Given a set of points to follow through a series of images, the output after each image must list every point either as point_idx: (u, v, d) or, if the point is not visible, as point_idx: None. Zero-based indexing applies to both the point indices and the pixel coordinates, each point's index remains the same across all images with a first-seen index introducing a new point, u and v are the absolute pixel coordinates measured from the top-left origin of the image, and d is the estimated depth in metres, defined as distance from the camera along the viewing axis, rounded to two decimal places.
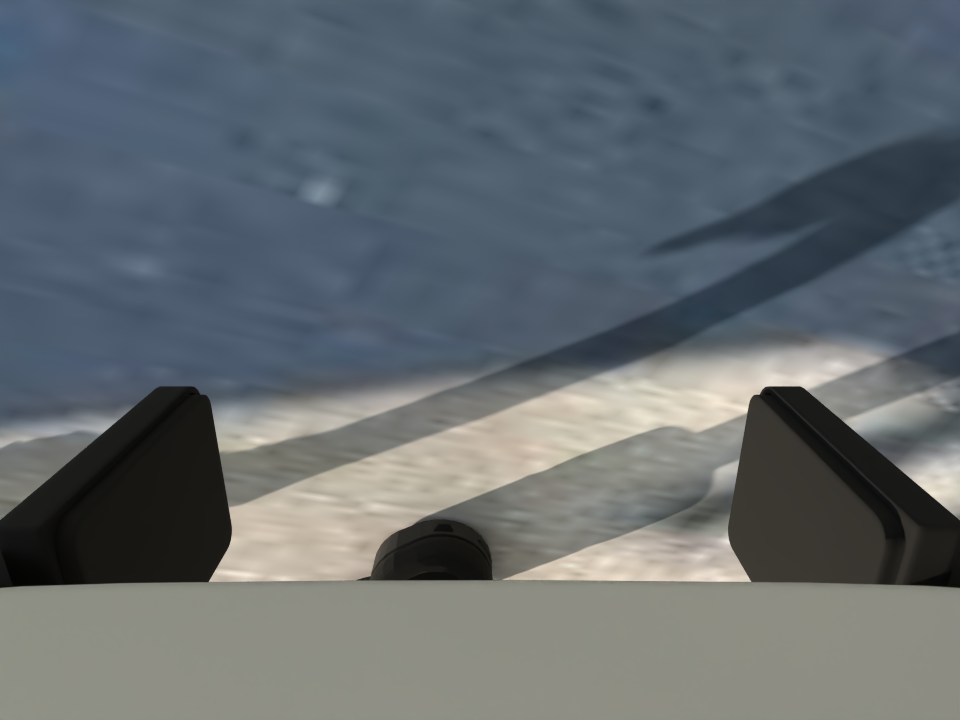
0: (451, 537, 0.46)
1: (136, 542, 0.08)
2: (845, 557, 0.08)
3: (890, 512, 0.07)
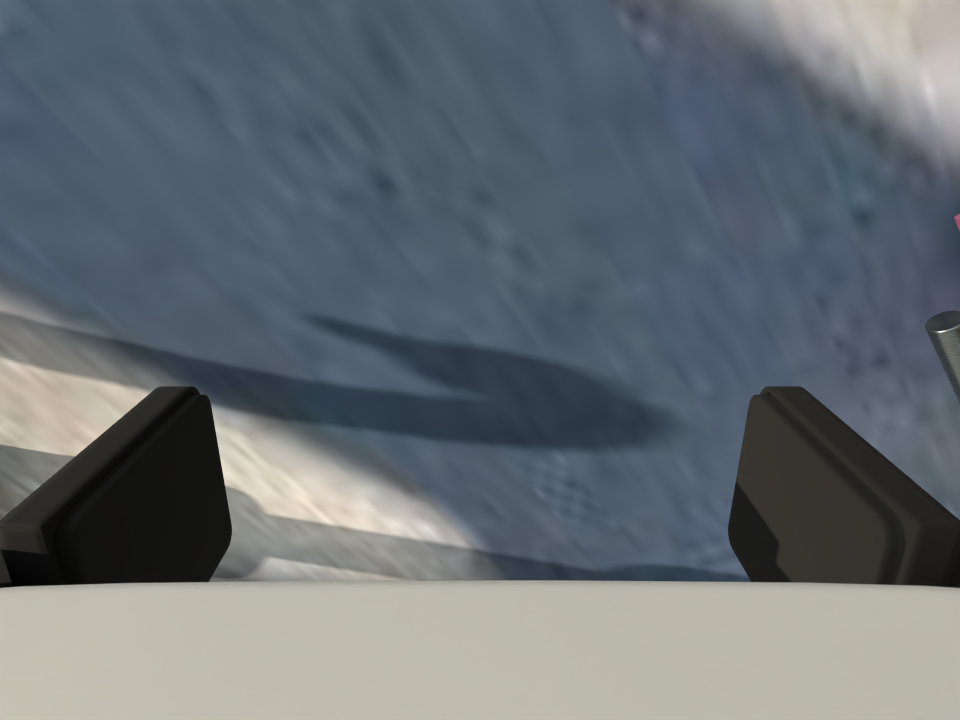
0: None
1: (136, 542, 0.08)
2: (845, 557, 0.08)
3: (890, 513, 0.07)
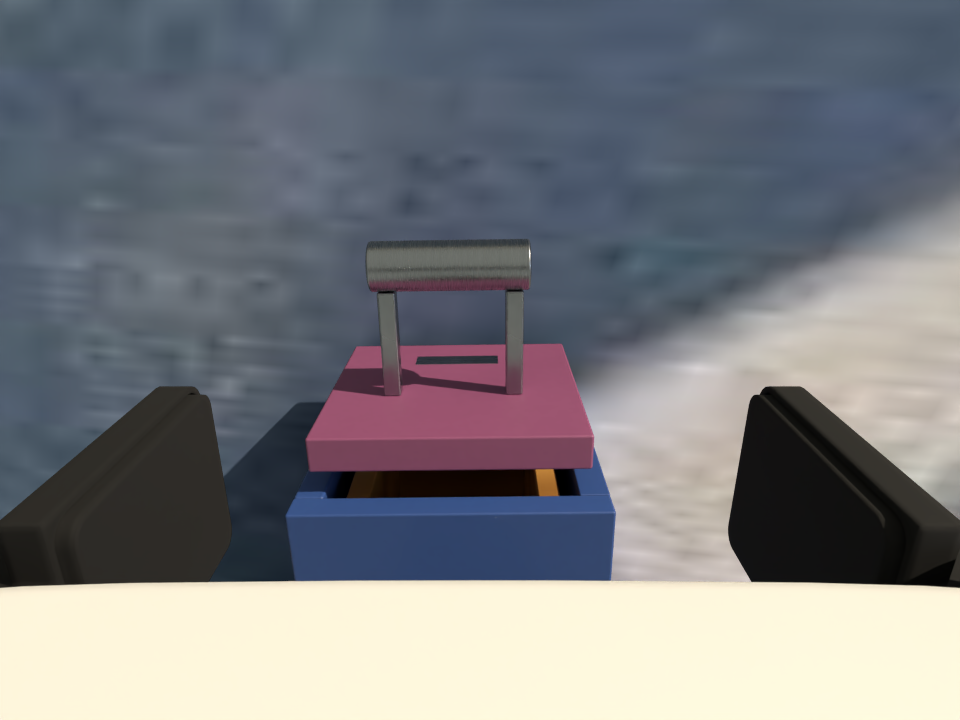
0: None
1: (136, 542, 0.08)
2: (845, 557, 0.08)
3: (890, 512, 0.07)
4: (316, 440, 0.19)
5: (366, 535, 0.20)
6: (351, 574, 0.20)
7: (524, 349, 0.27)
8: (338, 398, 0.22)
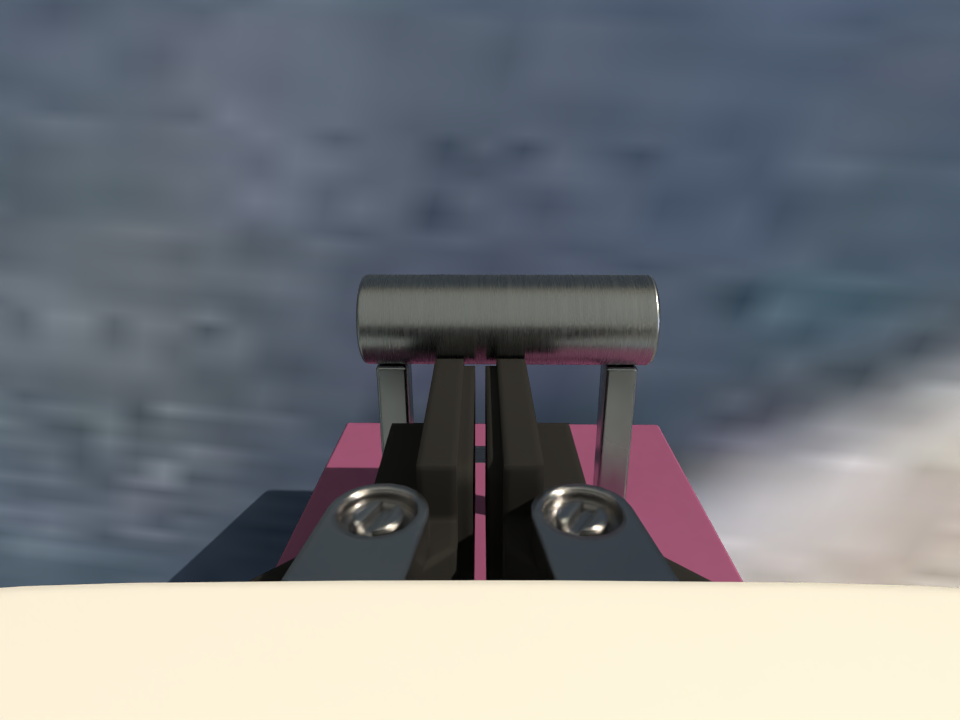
0: None
1: None
2: None
3: (501, 457, 0.08)
4: None
5: None
6: None
7: None
8: None
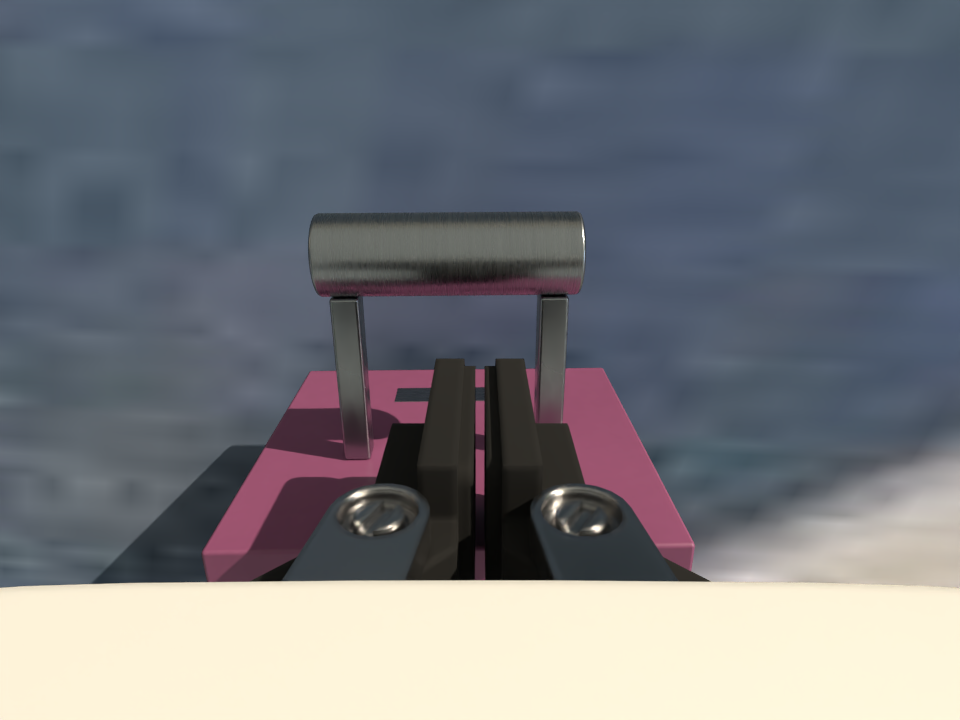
0: None
1: (473, 489, 0.09)
2: None
3: (499, 457, 0.08)
4: (221, 553, 0.11)
5: None
6: None
7: None
8: (271, 464, 0.14)
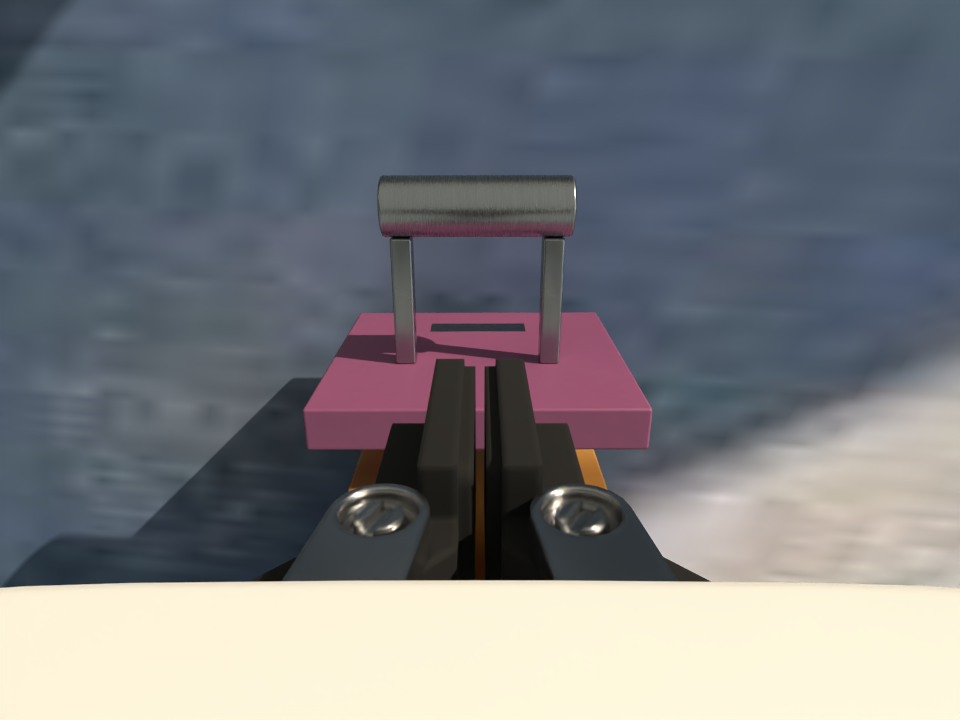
0: None
1: (473, 489, 0.09)
2: None
3: (499, 457, 0.08)
4: (316, 411, 0.16)
5: None
6: None
7: None
8: (342, 365, 0.19)
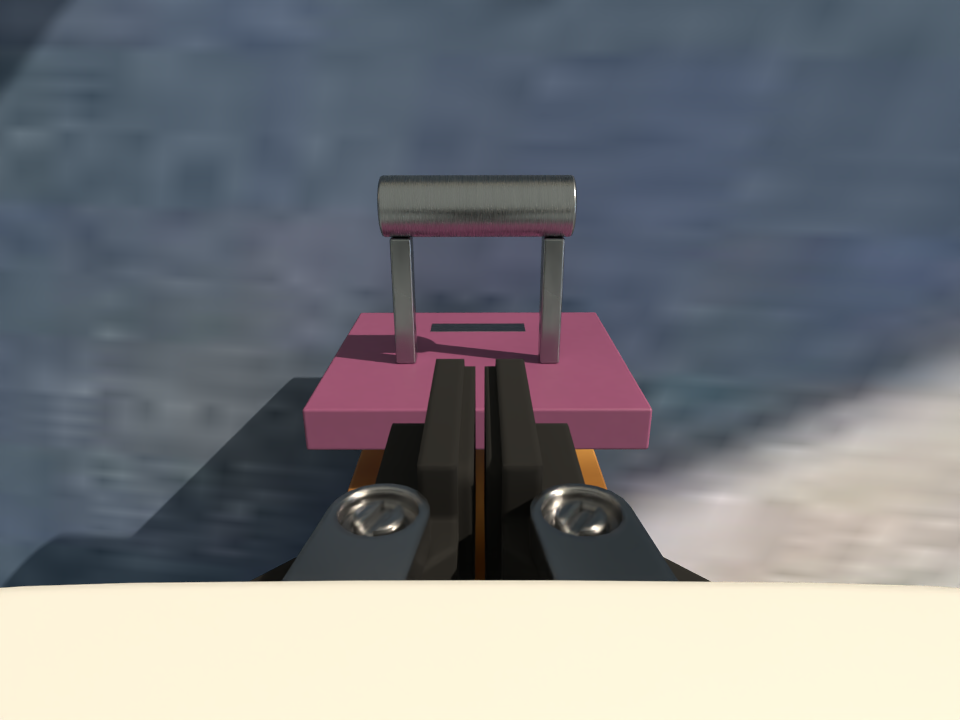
0: None
1: (473, 489, 0.09)
2: None
3: (499, 457, 0.08)
4: (317, 411, 0.16)
5: None
6: None
7: None
8: (341, 365, 0.19)
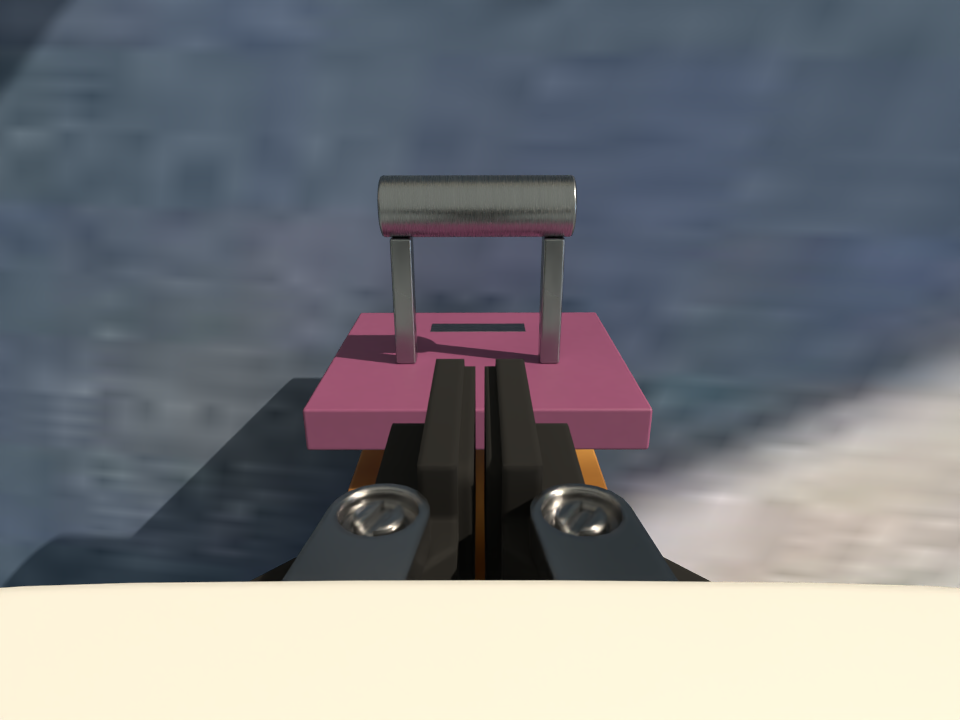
0: None
1: (473, 489, 0.09)
2: None
3: (499, 457, 0.08)
4: (316, 411, 0.16)
5: None
6: None
7: None
8: (342, 365, 0.19)
